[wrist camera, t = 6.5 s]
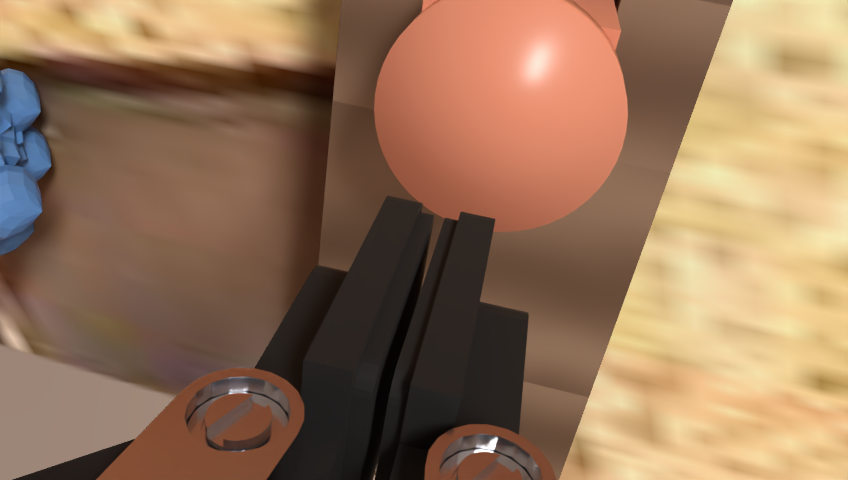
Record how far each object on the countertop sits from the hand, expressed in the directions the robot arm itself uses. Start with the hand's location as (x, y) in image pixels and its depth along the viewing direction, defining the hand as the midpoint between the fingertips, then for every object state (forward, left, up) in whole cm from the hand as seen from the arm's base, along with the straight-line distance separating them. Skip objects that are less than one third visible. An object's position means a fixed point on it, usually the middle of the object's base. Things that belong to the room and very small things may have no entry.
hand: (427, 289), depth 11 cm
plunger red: (0, 0, -15) cm, 15 cm away
